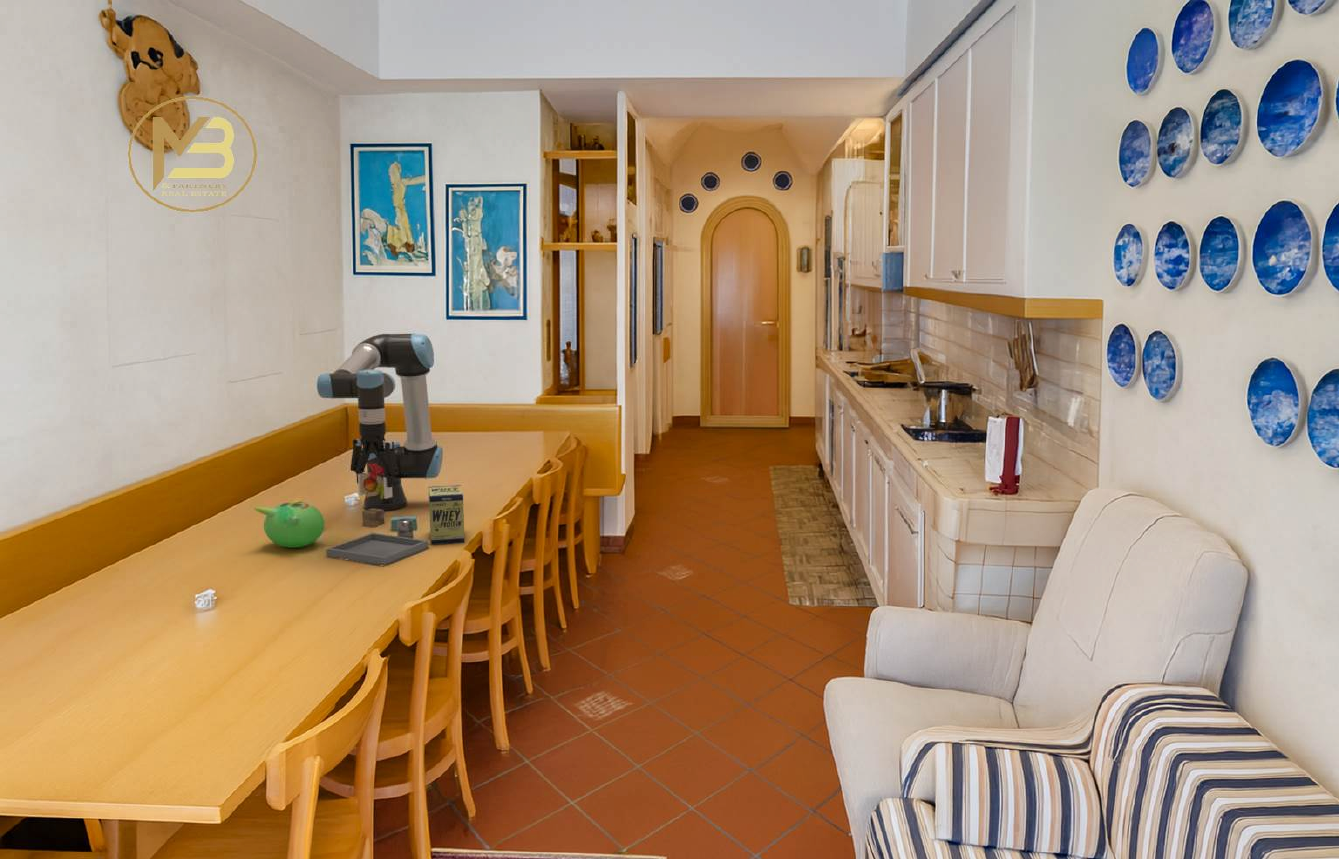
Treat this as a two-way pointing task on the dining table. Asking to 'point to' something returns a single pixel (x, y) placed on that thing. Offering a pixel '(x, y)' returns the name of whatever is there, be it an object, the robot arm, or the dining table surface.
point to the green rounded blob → (292, 523)
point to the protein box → (446, 514)
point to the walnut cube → (373, 517)
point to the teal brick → (394, 519)
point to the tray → (377, 549)
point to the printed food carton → (373, 481)
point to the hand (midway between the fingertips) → (375, 496)
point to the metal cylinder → (405, 528)
